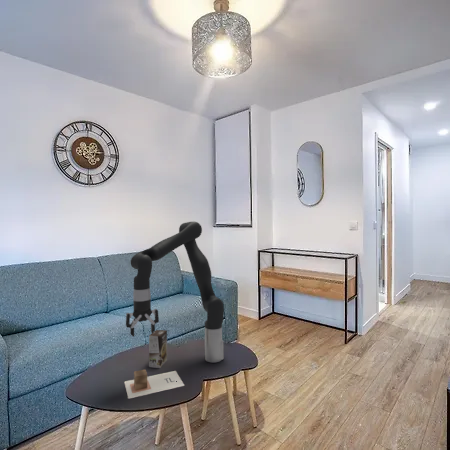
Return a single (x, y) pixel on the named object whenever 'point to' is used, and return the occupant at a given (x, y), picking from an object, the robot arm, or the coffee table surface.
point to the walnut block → (140, 379)
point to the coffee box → (157, 348)
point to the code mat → (155, 384)
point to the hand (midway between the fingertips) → (142, 334)
